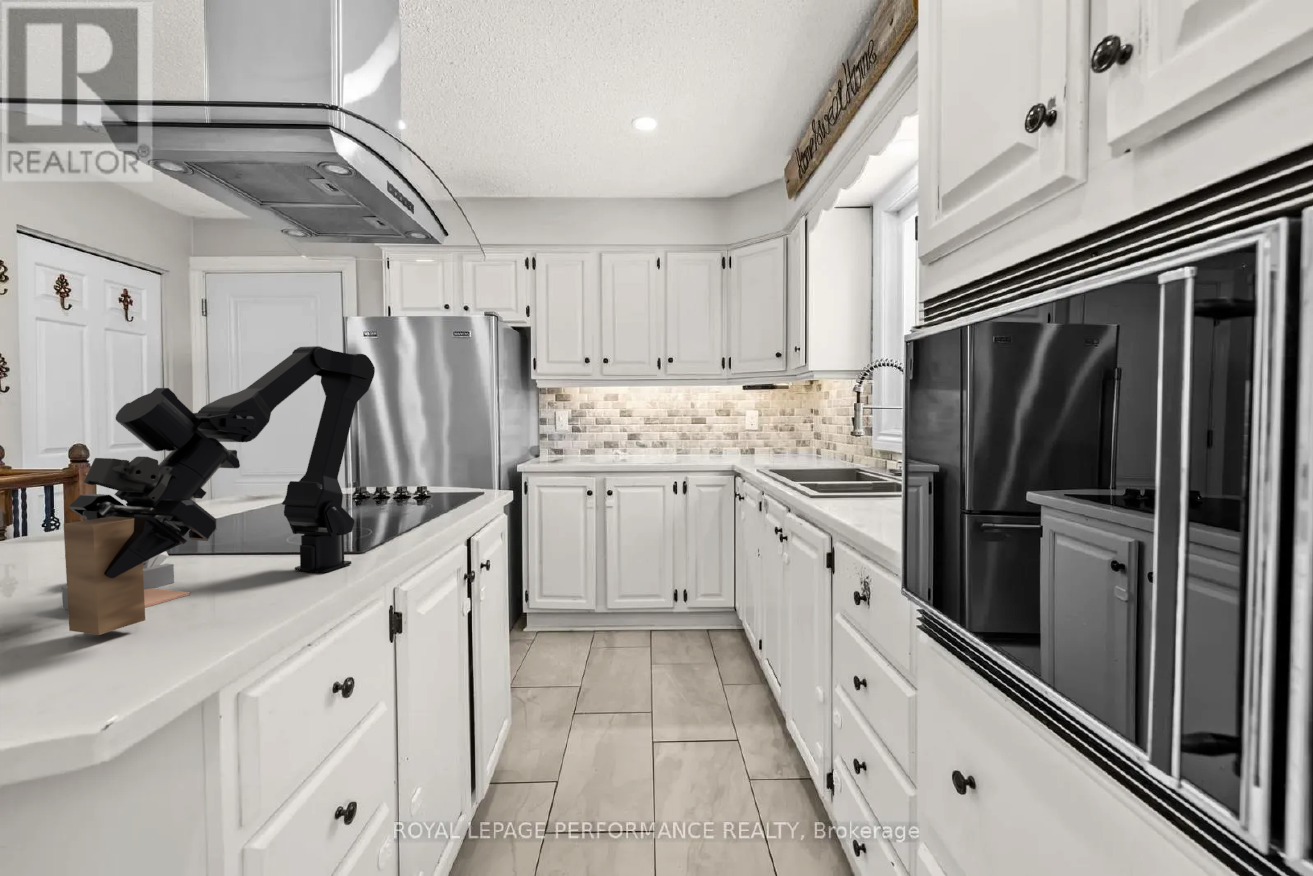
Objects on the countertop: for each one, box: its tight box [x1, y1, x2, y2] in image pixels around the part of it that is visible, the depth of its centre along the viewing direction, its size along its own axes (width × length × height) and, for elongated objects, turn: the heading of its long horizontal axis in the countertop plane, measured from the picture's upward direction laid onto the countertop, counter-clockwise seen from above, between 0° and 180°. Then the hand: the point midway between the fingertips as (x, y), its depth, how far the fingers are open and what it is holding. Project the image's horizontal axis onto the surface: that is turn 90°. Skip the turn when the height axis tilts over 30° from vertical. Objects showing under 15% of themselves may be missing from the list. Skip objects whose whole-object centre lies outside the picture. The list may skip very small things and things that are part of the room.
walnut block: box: [63, 516, 146, 636], centre depth 73 cm, size 5×5×13 cm
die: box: [143, 551, 169, 569], centre depth 98 cm, size 8×9×10 cm
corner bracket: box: [61, 563, 175, 611], centre depth 88 cm, size 14×11×3 cm
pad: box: [144, 588, 190, 608], centre depth 87 cm, size 8×8×1 cm
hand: (92, 574), depth 71 cm, fingers closed on walnut block, 5 cm apart
